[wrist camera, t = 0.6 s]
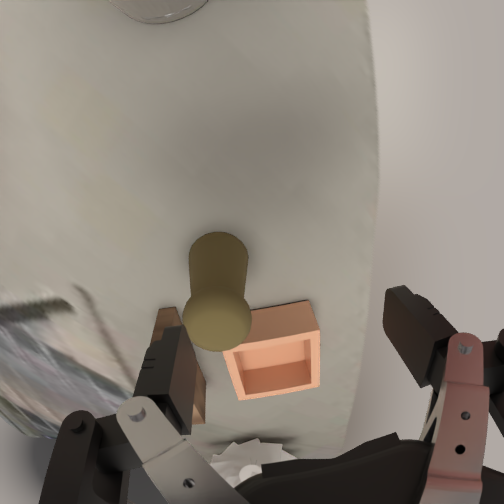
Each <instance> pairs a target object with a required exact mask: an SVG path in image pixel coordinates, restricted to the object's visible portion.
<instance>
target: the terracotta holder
mask: <svg viewBox="0 0 504 504" xmlns="http://www.w3.org/2000/svg"><path fill="white" fill-rule="evenodd" d="M251 315H252V323H251V329H250V332H249V334H248V336H247V337H246V339H245V340H244V341H243V342H242V343H241V344H240V345H238V346H237V347H235V348H233V349H231V350H227V351H222V352H223V355H224V358H225V361H226V364H227V367H228V370H229V373H230V376H231V379H232V382H233V385H234V388H235V391H236V394H237V396H238V399H239V400H246V399H254V398H260V397H267V396H273V395H279V394H284V393H290V392H295V391H300V390H305V389H310V388H314V387H319V383H320V329H319V326H318V324H317V321H316V318H315V316H314V313H313V310H312V308H311V305H310V303H309V300H308V301H303V302H298V303H292V304H287V305H281V306H276V307H270V308H264V309H259V310H253V311H251Z"/></svg>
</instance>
